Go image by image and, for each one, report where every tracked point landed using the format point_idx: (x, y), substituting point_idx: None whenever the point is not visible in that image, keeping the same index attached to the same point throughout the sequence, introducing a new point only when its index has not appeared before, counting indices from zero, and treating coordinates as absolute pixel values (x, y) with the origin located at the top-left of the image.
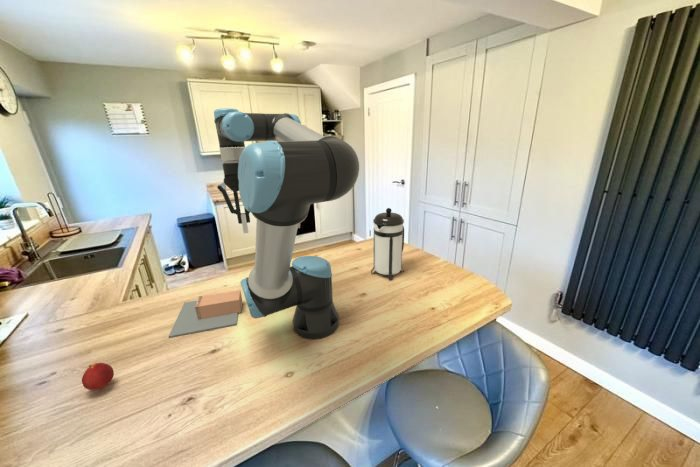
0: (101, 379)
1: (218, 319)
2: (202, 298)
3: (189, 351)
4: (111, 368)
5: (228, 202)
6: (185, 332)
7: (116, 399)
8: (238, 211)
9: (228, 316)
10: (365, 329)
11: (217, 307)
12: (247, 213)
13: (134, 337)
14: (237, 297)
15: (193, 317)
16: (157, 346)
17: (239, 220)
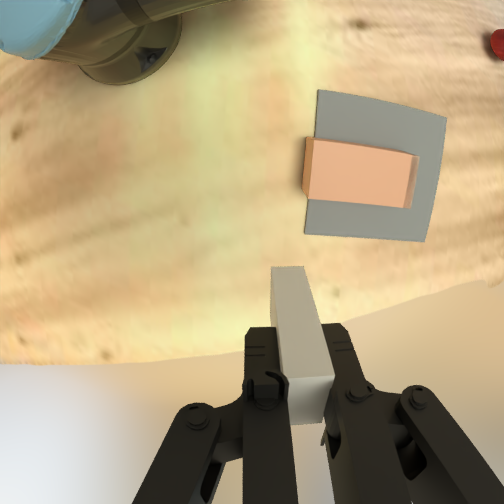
0: (501, 29)
1: (360, 128)
2: (404, 193)
3: (405, 50)
4: (500, 43)
5: (476, 480)
6: (421, 112)
7: (471, 11)
8: (360, 408)
9: (337, 129)
10: None
11: (368, 146)
12: (260, 376)
13: (487, 155)
14: (318, 155)
15: None
16: (456, 101)
17: (339, 344)
